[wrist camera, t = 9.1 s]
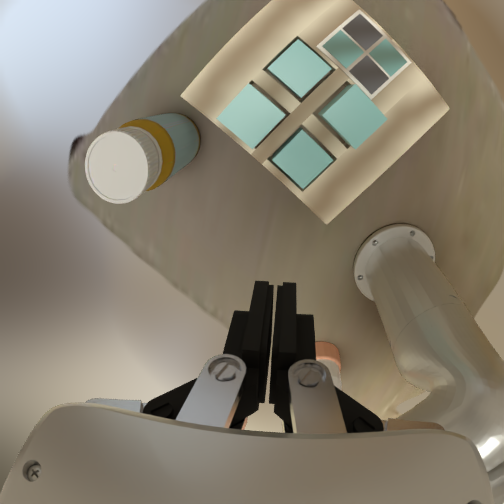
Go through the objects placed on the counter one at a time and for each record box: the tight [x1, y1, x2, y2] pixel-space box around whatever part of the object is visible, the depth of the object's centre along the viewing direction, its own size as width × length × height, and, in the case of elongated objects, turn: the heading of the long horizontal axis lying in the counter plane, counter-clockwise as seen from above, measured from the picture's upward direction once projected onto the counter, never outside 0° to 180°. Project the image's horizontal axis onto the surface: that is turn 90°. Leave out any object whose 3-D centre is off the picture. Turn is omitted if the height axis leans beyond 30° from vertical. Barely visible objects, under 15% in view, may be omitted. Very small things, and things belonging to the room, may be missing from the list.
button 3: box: [267, 39, 331, 98], centre depth 28 cm, size 5×5×4 cm
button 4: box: [216, 83, 285, 149], centre depth 28 cm, size 5×5×4 cm
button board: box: [181, 0, 450, 225], centre depth 29 cm, size 22×21×4 cm
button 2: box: [272, 127, 333, 189], centre depth 32 cm, size 5×5×4 cm
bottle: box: [85, 113, 200, 204], centre depth 28 cm, size 7×7×15 cm
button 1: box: [318, 84, 388, 150], centre depth 27 cm, size 5×5×4 cm
